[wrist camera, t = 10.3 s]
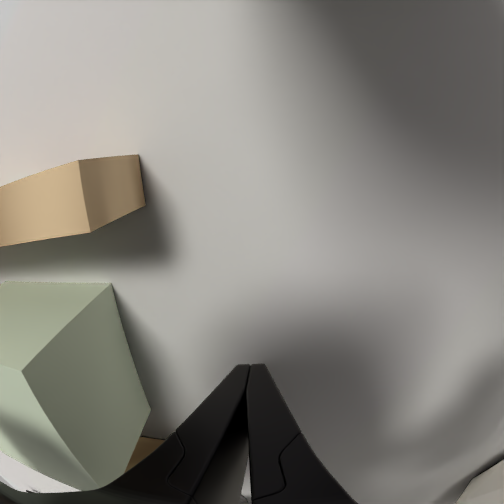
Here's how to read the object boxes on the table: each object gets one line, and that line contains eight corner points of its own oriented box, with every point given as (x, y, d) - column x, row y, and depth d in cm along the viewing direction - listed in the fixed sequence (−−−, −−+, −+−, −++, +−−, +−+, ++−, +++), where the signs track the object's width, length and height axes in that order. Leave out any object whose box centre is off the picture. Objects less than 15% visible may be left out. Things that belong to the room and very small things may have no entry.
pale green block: (112, 281, 10) (21, 371, 5) (151, 408, 11) (112, 501, 7) (7, 280, 10) (-71, 334, 5) (50, 387, 12) (2, 452, 7)
